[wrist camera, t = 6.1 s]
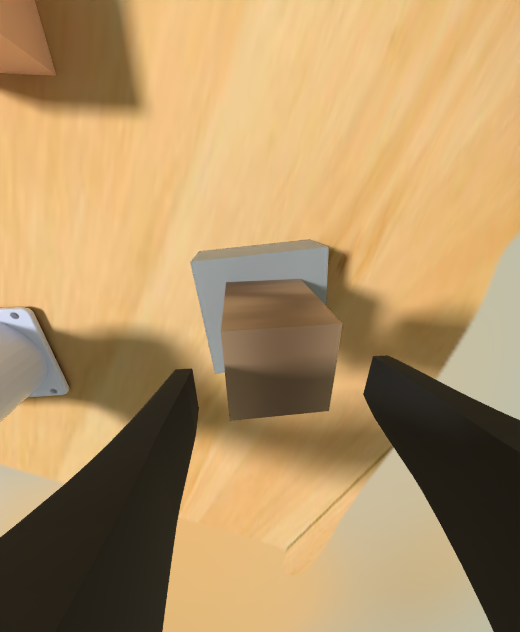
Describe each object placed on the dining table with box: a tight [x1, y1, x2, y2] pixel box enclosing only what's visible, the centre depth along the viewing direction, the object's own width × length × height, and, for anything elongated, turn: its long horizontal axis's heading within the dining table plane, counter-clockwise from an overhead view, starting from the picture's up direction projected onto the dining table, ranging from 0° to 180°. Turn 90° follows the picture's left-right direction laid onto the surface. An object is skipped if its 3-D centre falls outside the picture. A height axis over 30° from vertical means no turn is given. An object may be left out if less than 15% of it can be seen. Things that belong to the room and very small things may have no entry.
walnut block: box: [221, 279, 343, 421], centre depth 12 cm, size 4×4×6 cm
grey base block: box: [190, 239, 329, 374], centre depth 16 cm, size 8×8×4 cm
